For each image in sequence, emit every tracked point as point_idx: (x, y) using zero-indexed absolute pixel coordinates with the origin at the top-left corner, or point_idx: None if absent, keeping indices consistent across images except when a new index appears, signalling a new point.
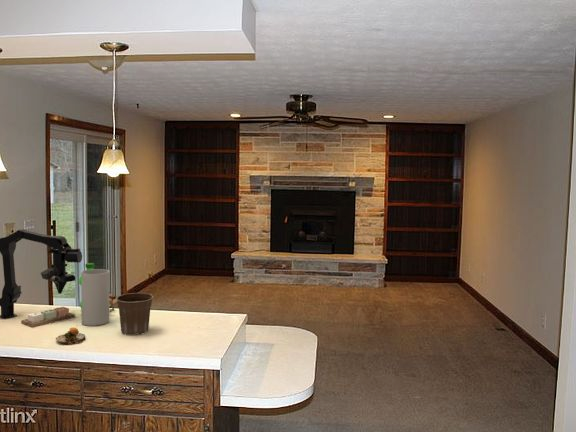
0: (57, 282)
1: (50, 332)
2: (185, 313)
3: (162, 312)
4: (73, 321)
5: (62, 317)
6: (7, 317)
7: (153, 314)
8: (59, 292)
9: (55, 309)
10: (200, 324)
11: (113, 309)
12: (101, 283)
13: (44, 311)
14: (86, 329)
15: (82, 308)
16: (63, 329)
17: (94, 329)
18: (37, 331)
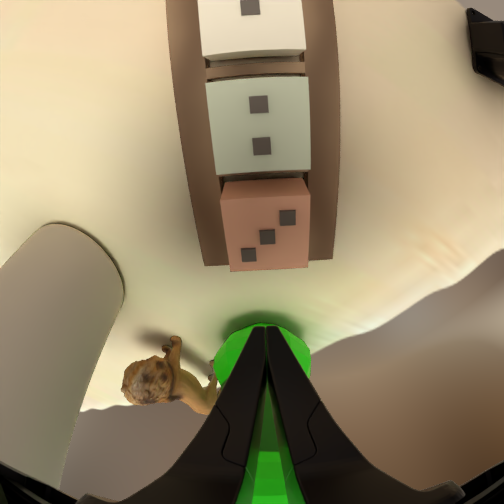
0: (133, 500)
1: (36, 60)
2: (91, 403)
3: (114, 399)
4: (135, 215)
5: (189, 186)
6: (470, 21)
7: (105, 387)
8: (247, 340)
9: (280, 195)
10: None
11: (208, 378)
12: None
13: (282, 97)
14: (12, 205)
15: (12, 273)
16: (40, 124)
17: (7, 226)
18: (87, 4)
